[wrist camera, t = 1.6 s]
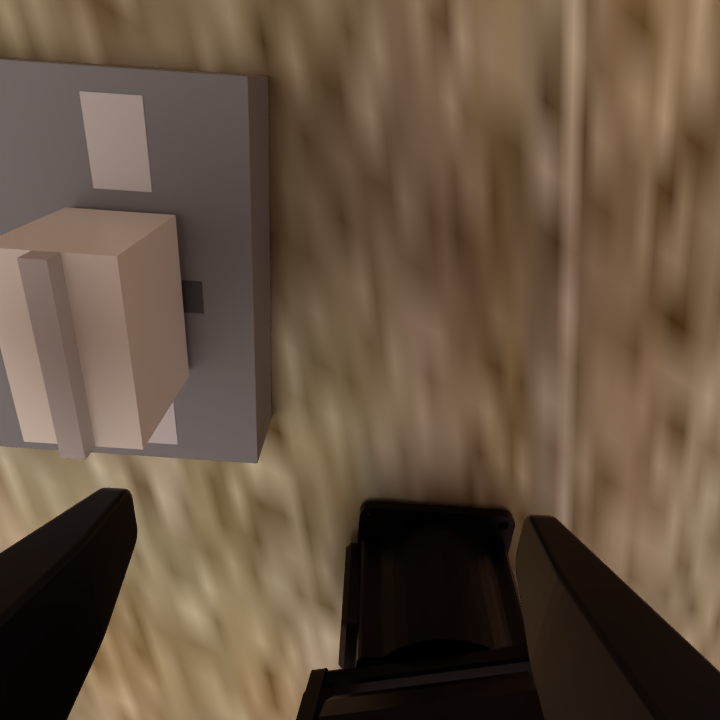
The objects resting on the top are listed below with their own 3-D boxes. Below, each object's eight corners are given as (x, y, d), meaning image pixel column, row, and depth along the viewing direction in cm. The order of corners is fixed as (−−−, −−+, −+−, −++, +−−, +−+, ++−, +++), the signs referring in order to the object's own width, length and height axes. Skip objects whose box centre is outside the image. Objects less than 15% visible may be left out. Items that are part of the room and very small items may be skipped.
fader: (175, 215, 15) (105, 263, 11) (188, 375, 18) (134, 463, 14) (65, 207, 15) (-43, 254, 11) (93, 369, 18) (11, 454, 14)
